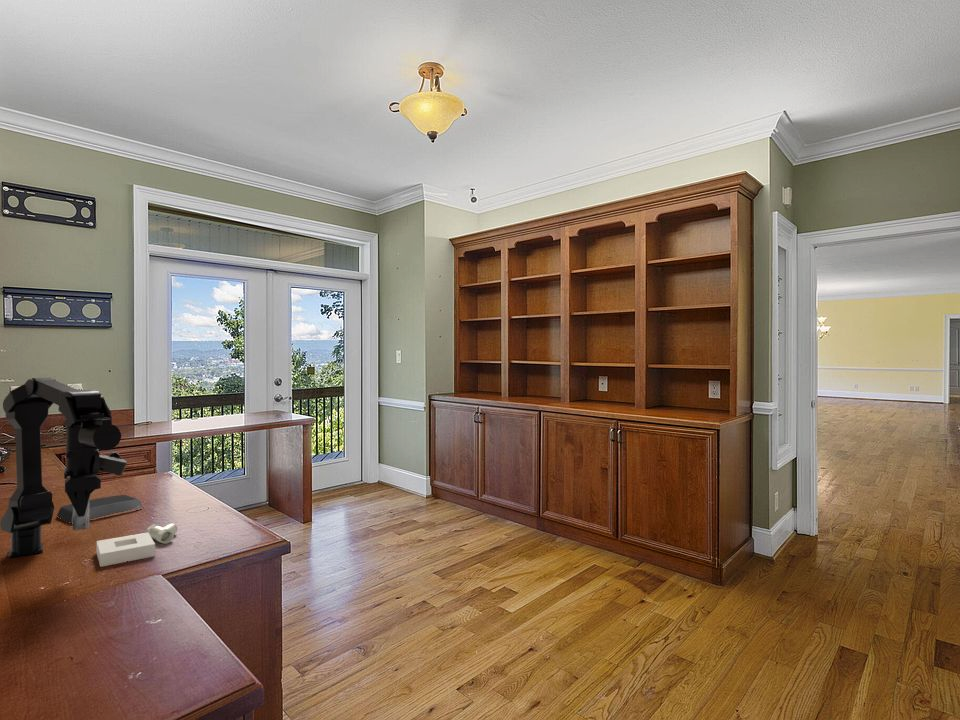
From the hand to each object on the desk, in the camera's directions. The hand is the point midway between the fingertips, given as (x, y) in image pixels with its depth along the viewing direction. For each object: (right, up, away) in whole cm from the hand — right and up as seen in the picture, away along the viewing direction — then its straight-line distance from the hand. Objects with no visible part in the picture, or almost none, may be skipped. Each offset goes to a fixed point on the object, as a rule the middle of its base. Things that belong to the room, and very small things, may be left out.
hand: (81, 514), depth 121 cm
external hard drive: (-27, -13, +44) cm, 54 cm away
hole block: (+3, -13, +10) cm, 17 cm away
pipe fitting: (+6, -13, +22) cm, 27 cm away
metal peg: (0, -3, 0) cm, 3 cm away
